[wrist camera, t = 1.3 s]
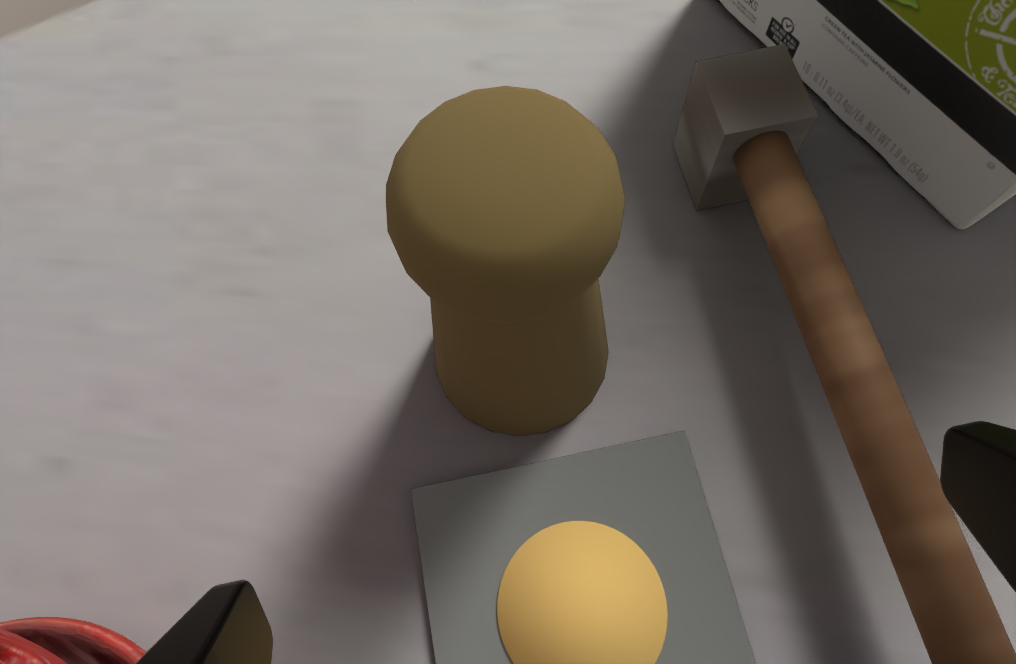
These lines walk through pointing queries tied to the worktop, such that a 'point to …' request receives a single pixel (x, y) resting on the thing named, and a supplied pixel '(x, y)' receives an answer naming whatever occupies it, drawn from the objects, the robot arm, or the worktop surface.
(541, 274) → the cork
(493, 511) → the pad
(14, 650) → the plant pot
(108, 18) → the worktop surface
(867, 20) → the tea box
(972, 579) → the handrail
